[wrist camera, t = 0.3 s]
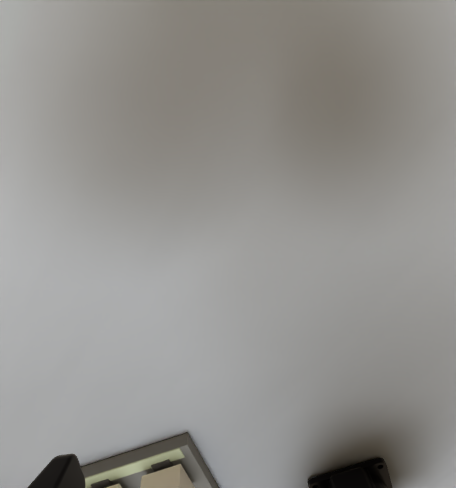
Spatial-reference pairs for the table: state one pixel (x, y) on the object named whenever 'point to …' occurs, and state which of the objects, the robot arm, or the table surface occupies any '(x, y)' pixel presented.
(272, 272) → the table surface
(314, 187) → the table surface
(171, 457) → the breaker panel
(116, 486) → the toggle
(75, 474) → the robot arm
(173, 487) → the toggle
